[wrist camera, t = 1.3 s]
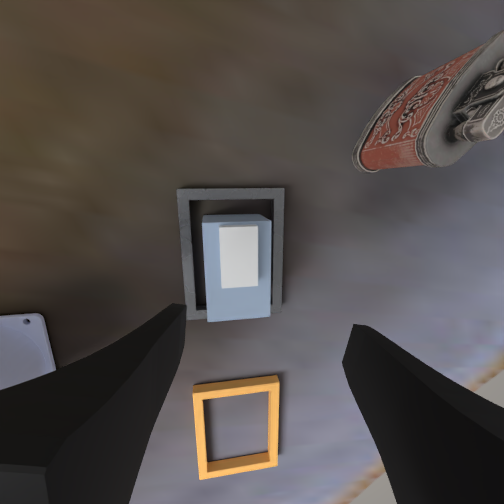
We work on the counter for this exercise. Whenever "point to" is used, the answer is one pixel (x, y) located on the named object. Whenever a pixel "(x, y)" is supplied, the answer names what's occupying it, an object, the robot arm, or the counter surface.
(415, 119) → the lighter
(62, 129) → the counter surface
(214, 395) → the orange picture frame
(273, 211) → the open gray picture frame
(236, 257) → the plug
